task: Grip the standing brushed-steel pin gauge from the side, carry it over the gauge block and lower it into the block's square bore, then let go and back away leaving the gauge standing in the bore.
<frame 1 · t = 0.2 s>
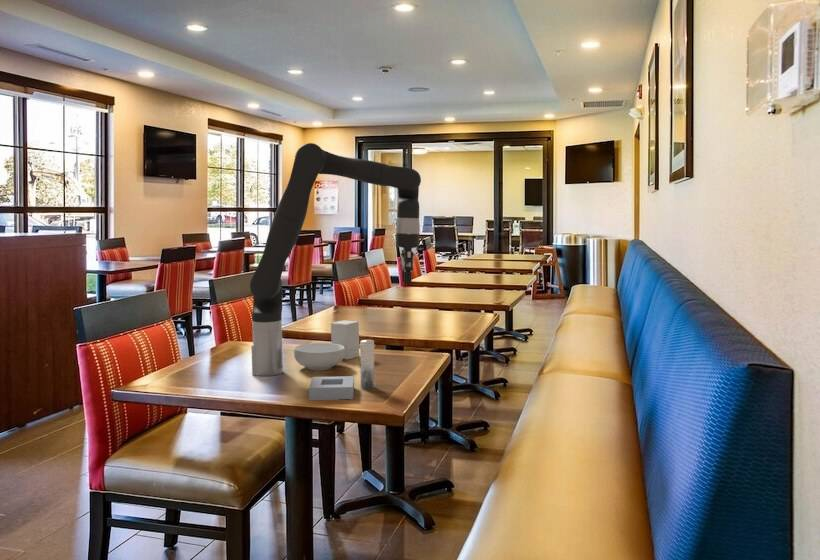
hand: (406, 283, 209), 29 cm above the table, tool pointing down, fingers open, 8 cm apart
supplement box: (345, 357, 233), on the table
cereal bowl: (319, 368, 217), on the table
pin gauge: (367, 387, 192), on the table
gauge block: (332, 393, 185), on the table
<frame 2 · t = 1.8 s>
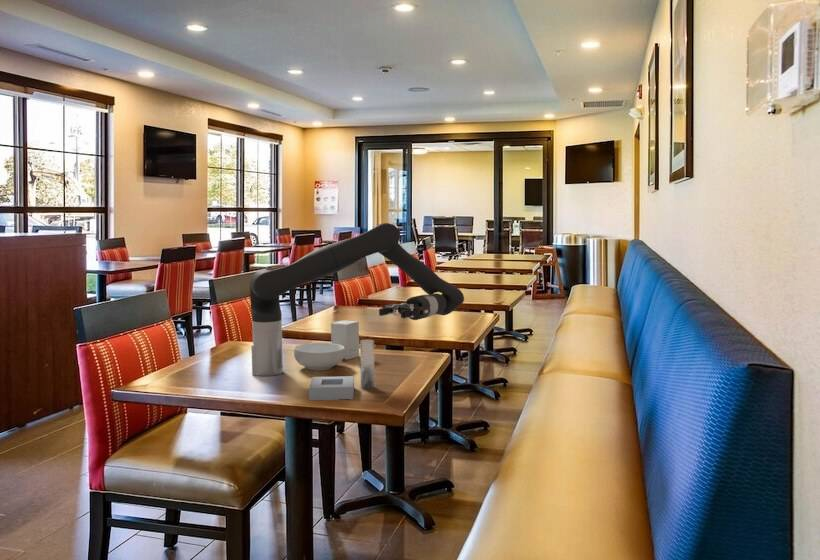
hand: (390, 313, 199), 21 cm above the table, tool horizontal, fingers open, 8 cm apart
nothing on the table moved.
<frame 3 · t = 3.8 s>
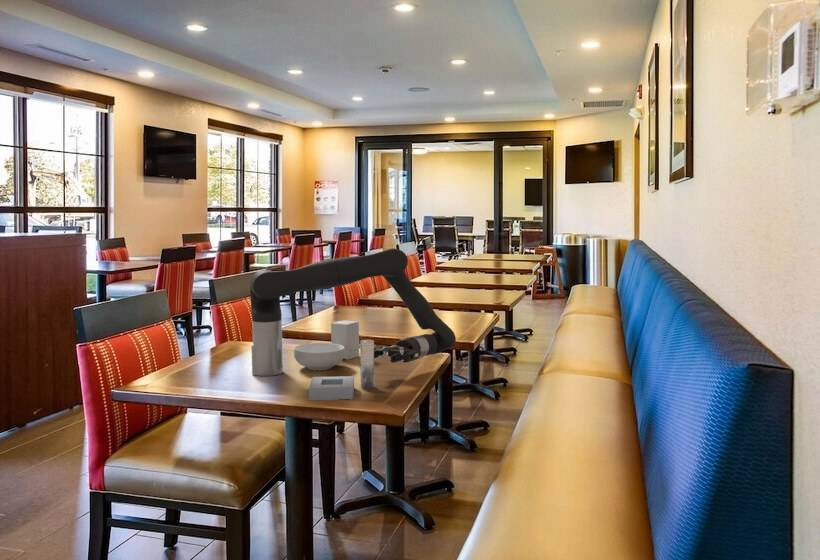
hand: (380, 357, 196), 8 cm above the table, tool horizontal, fingers open, 8 cm apart
nothing on the table moved.
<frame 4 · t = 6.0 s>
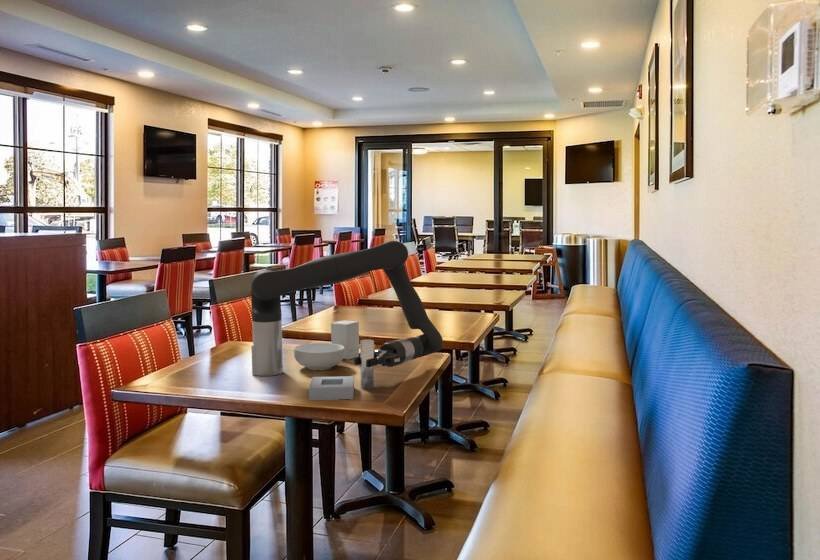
hand: (361, 362, 189), 8 cm above the table, tool horizontal, fingers closed on pin gauge, 4 cm apart
pin gauge: (367, 387, 192), on the table, touching gripper
everything else where it was.
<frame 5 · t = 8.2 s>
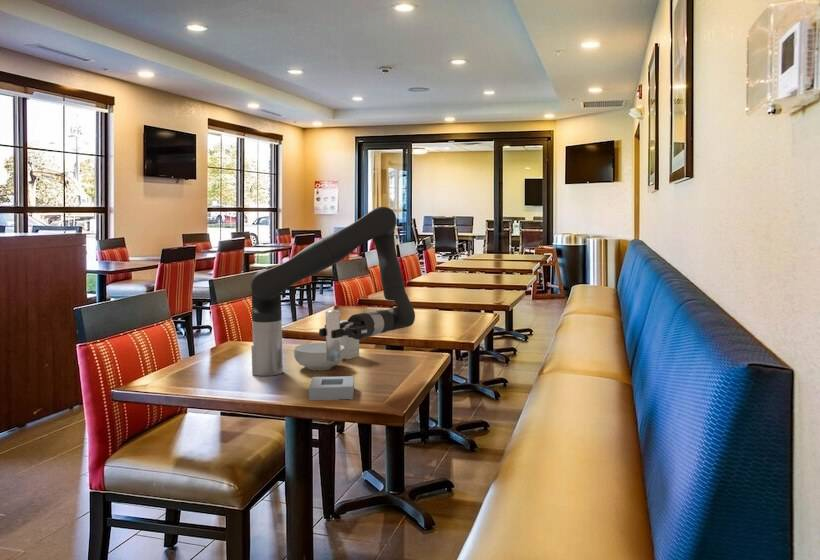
hand: (326, 333, 182), 18 cm above the table, tool horizontal, fingers closed on pin gauge, 4 cm apart
pin gauge: (333, 360, 185), point 10 cm above the table, touching gripper
everything else where it was.
when the fingers open (9 cm above the table, at t = 10.7 s): pin gauge drops 1 cm, resting in gauge block.
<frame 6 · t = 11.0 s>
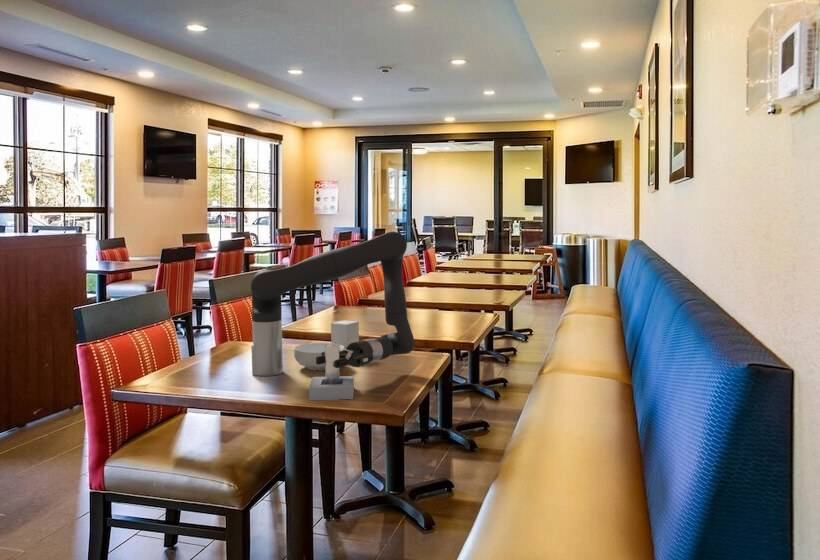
hand: (326, 362, 183), 10 cm above the table, tool horizontal, fingers open, 6 cm apart
pin gauge: (332, 393, 185), resting in gauge block
everything else where it was.
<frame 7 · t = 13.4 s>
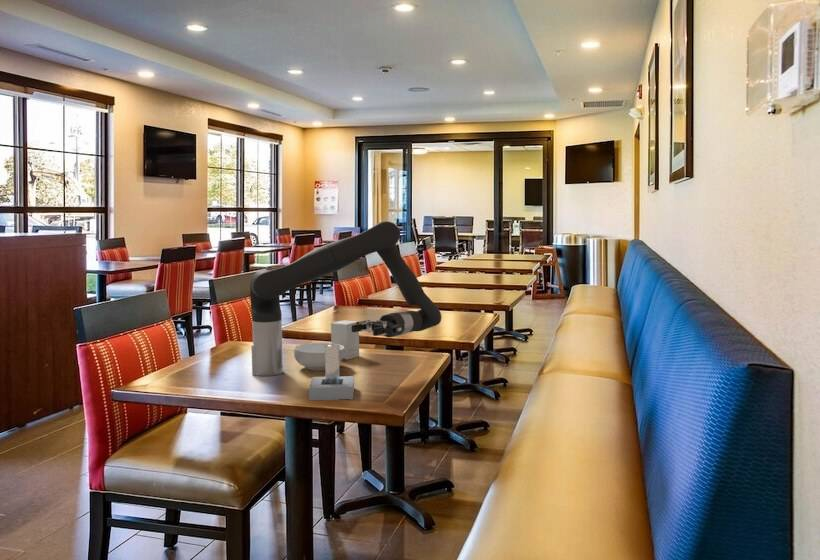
hand: (363, 330, 196), 16 cm above the table, tool horizontal, fingers open, 8 cm apart
nothing on the table moved.
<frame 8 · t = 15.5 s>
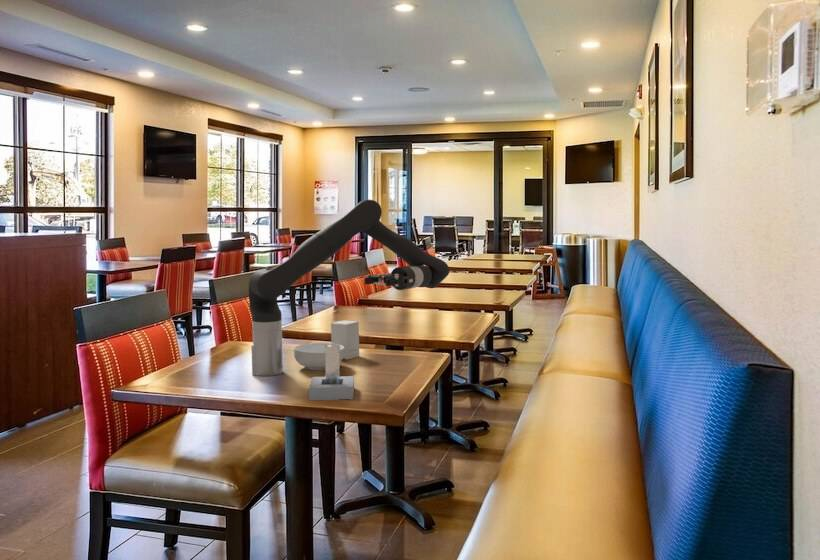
hand: (375, 281, 201), 30 cm above the table, tool horizontal, fingers open, 8 cm apart
nothing on the table moved.
at the end: pin gauge 0.1 cm off-centre on the gauge block, point 0.0 cm above the gauge block's base; pin gauge tilted 1°; the gripper is holding nothing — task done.
